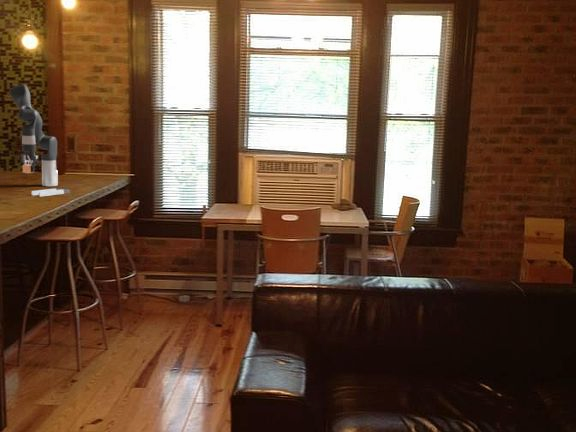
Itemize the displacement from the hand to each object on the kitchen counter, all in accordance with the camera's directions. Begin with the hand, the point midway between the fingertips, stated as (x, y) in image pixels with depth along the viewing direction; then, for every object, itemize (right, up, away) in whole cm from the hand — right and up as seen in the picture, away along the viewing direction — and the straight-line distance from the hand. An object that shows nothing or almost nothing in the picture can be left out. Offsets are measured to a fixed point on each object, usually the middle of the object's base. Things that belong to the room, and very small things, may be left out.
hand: (29, 171), depth 403 cm
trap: (+12, -12, +23) cm, 29 cm away
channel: (+6, -13, +14) cm, 20 cm away
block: (-1, -1, -1) cm, 1 cm away
